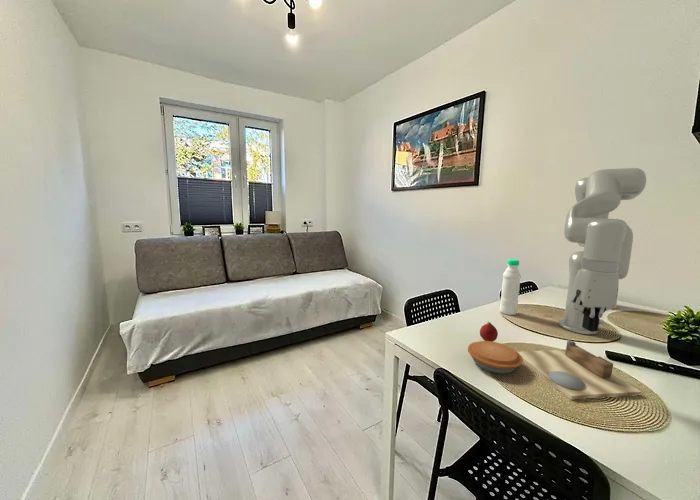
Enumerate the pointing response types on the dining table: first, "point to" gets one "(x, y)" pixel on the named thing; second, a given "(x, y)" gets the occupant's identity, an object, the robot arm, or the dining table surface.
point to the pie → (494, 356)
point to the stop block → (608, 362)
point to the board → (593, 383)
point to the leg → (588, 360)
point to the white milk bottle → (510, 288)
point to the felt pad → (566, 380)
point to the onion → (488, 332)
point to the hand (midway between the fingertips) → (589, 329)
